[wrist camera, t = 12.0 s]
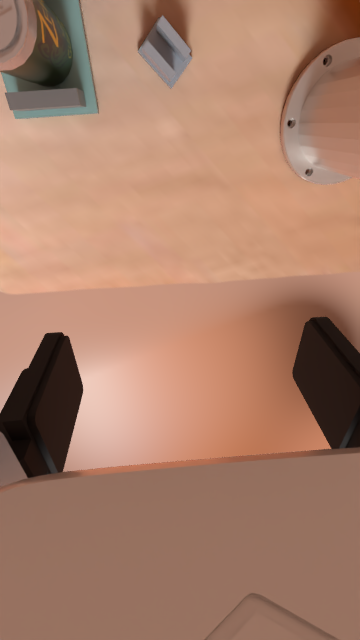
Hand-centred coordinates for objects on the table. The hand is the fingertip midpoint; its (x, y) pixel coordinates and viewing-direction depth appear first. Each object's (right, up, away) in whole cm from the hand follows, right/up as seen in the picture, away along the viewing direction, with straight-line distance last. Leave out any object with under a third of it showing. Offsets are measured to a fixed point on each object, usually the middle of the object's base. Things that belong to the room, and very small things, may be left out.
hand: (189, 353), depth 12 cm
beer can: (-12, +25, +14) cm, 32 cm away
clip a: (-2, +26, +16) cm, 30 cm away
